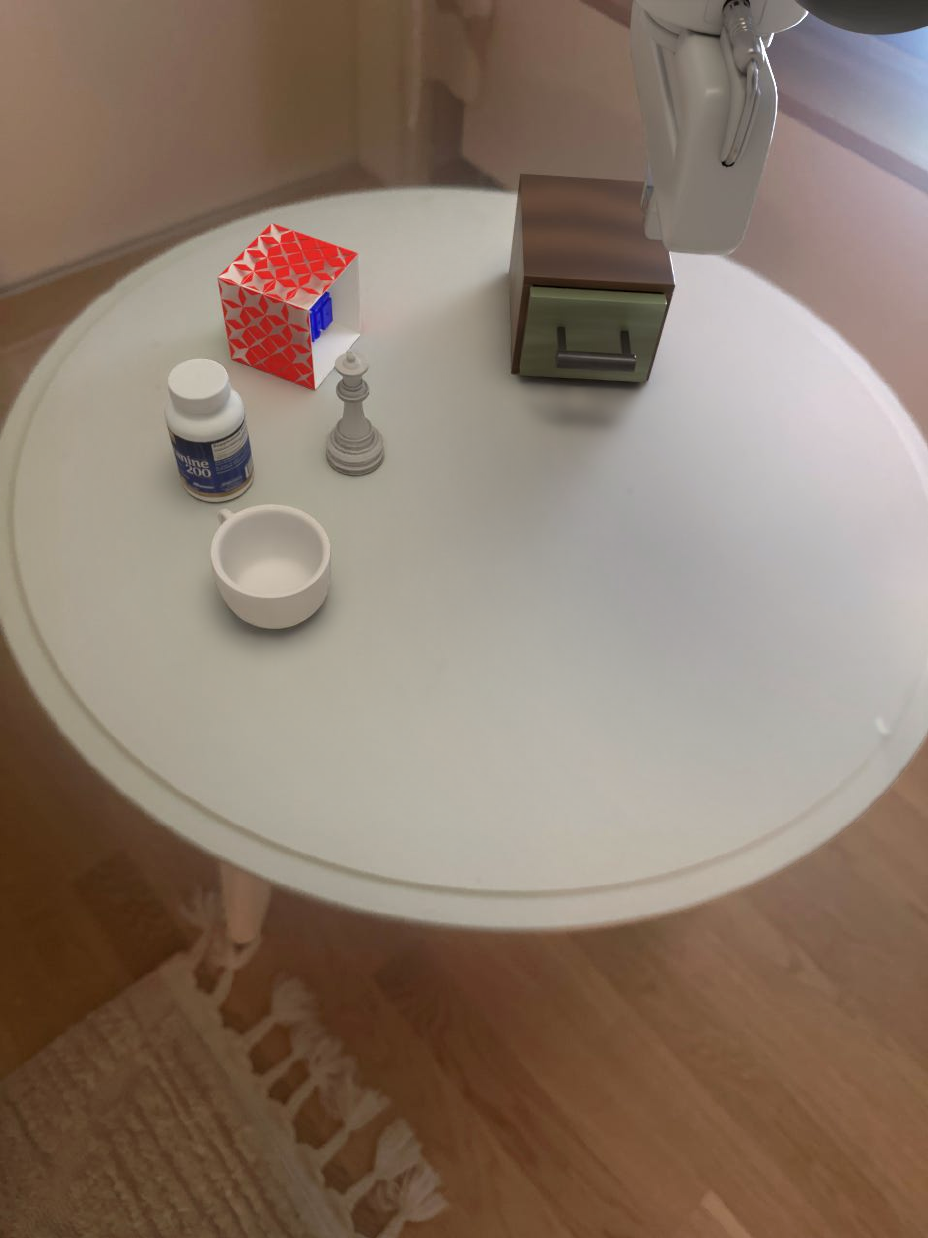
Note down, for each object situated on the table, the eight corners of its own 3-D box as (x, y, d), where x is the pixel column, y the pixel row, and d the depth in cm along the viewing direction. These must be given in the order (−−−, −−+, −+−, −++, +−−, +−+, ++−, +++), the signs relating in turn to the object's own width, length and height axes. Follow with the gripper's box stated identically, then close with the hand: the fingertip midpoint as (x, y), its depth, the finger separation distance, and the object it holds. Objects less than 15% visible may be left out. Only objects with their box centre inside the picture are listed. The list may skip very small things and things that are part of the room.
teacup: (357, 604, 68) (355, 556, 63) (266, 665, 65) (257, 619, 60) (271, 518, 72) (263, 467, 67) (181, 572, 68) (166, 522, 64)
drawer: (650, 418, 79) (672, 340, 72) (520, 411, 78) (532, 332, 72) (632, 286, 88) (651, 207, 82) (516, 279, 88) (526, 199, 81)
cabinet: (648, 380, 83) (675, 284, 75) (511, 373, 82) (523, 275, 74) (634, 279, 90) (657, 181, 82) (508, 271, 90) (520, 172, 82)
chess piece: (336, 482, 74) (330, 380, 66) (319, 442, 76) (310, 339, 68) (391, 468, 75) (392, 367, 67) (373, 429, 77) (371, 326, 69)
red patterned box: (280, 304, 85) (271, 222, 79) (361, 333, 84) (358, 252, 77) (230, 359, 81) (216, 277, 74) (314, 391, 79) (307, 310, 73)
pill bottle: (166, 476, 73) (139, 376, 65) (223, 440, 76) (203, 339, 68) (213, 516, 71) (190, 418, 63) (269, 478, 74) (255, 379, 66)
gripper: (840, 73, 39) (738, 350, 50) (758, -132, 50) (690, 131, 62) (682, 62, 38) (615, 343, 50) (636, -142, 50) (590, 125, 61)
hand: (656, 224), depth 56 cm, fingers closed
